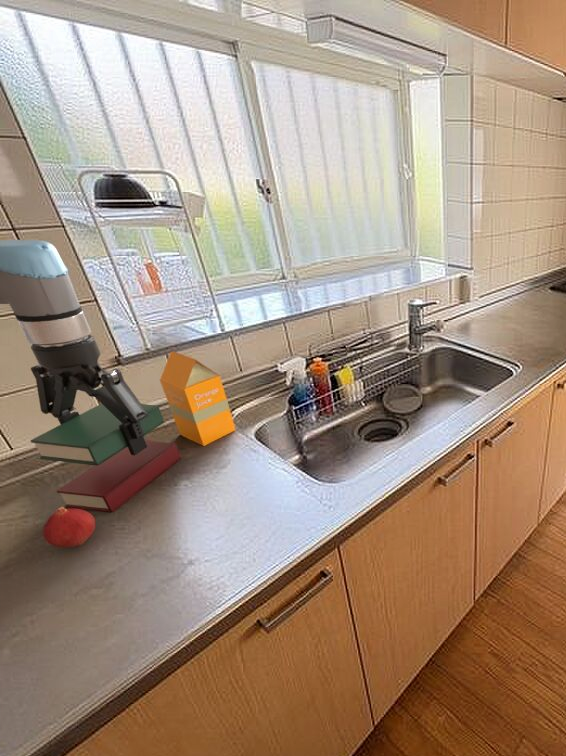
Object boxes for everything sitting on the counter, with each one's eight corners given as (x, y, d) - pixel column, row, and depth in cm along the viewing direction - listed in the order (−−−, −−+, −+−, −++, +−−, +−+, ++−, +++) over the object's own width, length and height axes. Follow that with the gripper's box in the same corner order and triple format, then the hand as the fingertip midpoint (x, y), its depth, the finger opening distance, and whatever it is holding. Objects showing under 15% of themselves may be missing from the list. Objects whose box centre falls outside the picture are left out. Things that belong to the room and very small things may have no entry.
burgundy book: (65, 507, 76) (56, 490, 74) (141, 454, 91) (135, 439, 89) (112, 512, 76) (103, 495, 74) (181, 458, 90) (175, 443, 88)
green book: (40, 459, 73) (30, 440, 71) (115, 417, 85) (107, 400, 83) (98, 465, 72) (89, 446, 70) (164, 422, 85) (158, 405, 83)
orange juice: (203, 446, 94) (175, 366, 85) (179, 435, 97) (150, 356, 88) (236, 429, 101) (214, 353, 91) (213, 419, 104) (189, 344, 95)
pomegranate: (47, 563, 66) (23, 526, 62) (64, 536, 71) (42, 500, 67) (95, 552, 68) (74, 516, 65) (108, 527, 73) (89, 492, 69)
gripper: (148, 337, 72) (184, 442, 82) (21, 325, 73) (73, 430, 83) (107, 354, 66) (152, 466, 76) (-32, 340, 66) (31, 453, 77)
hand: (111, 447), depth 79 cm, fingers closed on green book, 10 cm apart
